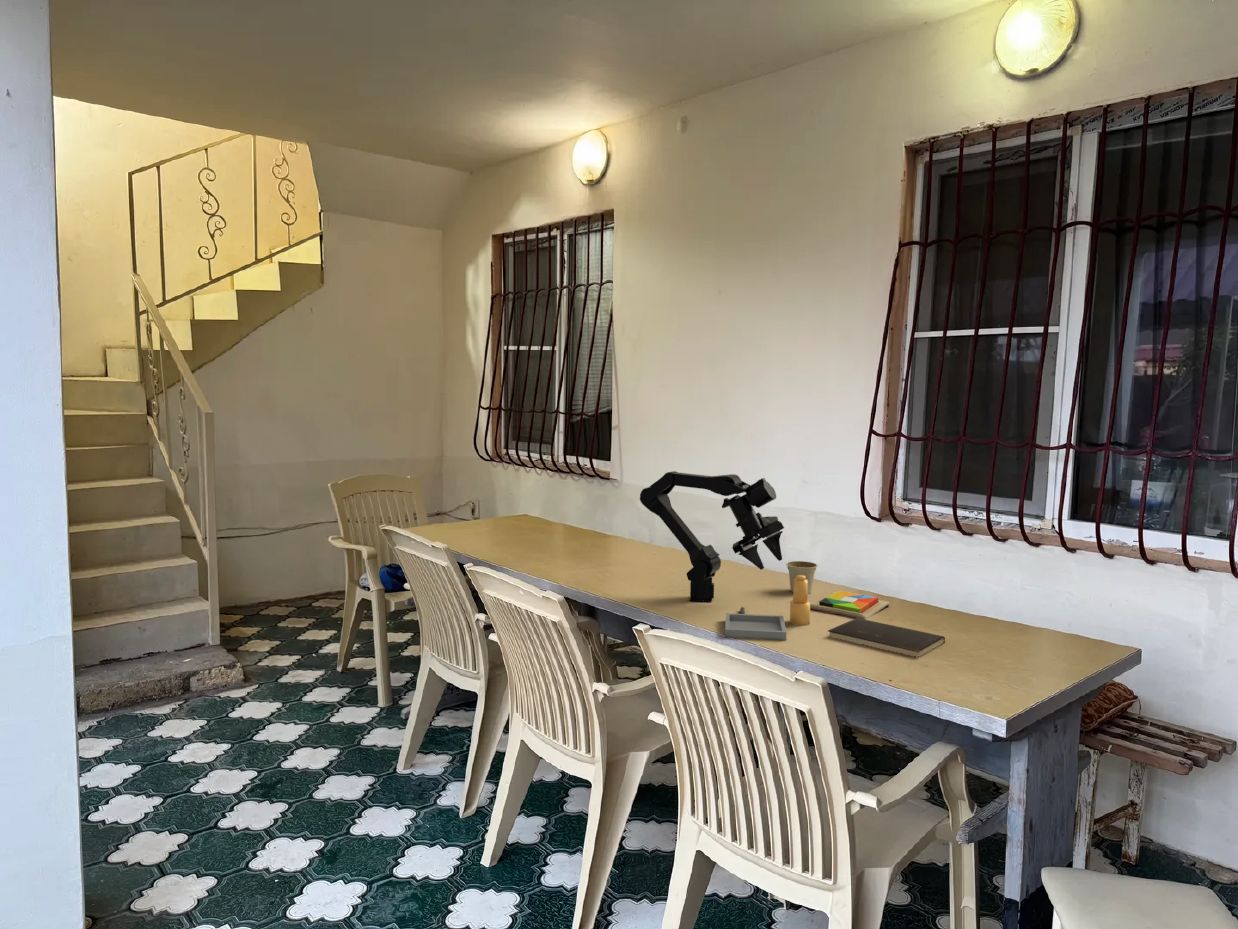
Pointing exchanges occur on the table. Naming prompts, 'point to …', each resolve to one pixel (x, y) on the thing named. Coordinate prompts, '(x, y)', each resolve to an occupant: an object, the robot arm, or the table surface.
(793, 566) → the flower pot
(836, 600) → the wooden puzzle
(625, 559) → the table surface
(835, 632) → the hardcover book
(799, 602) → the orange rounded stepped post
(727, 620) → the grey square tray
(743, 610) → the rod
